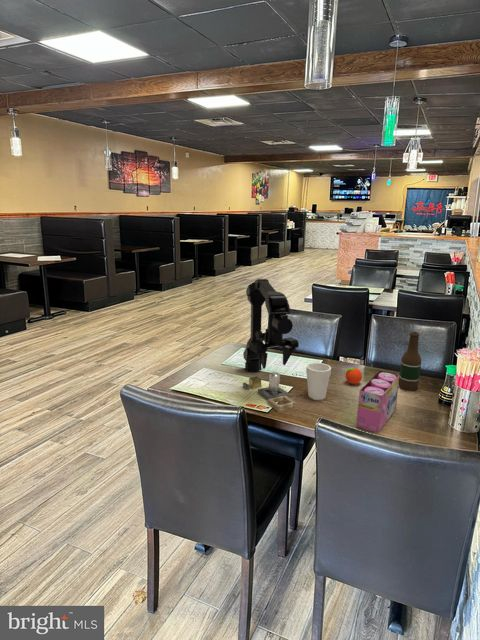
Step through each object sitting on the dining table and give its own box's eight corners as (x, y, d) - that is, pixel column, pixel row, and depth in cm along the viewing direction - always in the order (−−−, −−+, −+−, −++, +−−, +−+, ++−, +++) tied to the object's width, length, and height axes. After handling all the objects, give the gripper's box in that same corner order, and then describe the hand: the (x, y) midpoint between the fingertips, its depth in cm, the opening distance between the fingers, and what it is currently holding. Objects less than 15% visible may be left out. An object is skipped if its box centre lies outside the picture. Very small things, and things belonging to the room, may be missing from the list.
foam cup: (313, 405, 163) (316, 373, 159) (299, 395, 171) (301, 364, 167) (333, 400, 167) (336, 369, 164) (319, 391, 175) (321, 361, 172)
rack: (284, 401, 165) (285, 395, 165) (295, 409, 159) (295, 402, 159) (267, 405, 161) (267, 399, 161) (277, 413, 155) (277, 406, 155)
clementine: (346, 387, 180) (347, 371, 178) (339, 381, 186) (340, 365, 185) (364, 386, 181) (365, 370, 180) (356, 379, 188) (358, 364, 186)
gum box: (376, 402, 167) (379, 368, 163) (397, 407, 163) (401, 373, 159) (355, 426, 147) (358, 389, 144) (378, 433, 143) (382, 395, 140)
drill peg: (275, 392, 171) (276, 371, 168) (280, 397, 167) (281, 375, 165) (266, 394, 169) (267, 373, 167) (271, 398, 166) (272, 376, 163)
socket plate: (267, 382, 183) (267, 376, 182) (292, 399, 167) (292, 392, 167) (238, 388, 176) (238, 382, 175) (261, 406, 161) (262, 398, 160)
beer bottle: (418, 386, 182) (425, 331, 176) (417, 393, 175) (424, 336, 169) (399, 382, 185) (405, 329, 179) (397, 389, 179) (403, 333, 173)
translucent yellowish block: (257, 384, 178) (257, 376, 177) (261, 386, 176) (261, 378, 175) (248, 385, 176) (249, 377, 176) (252, 388, 174) (252, 380, 173)
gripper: (283, 320, 174) (282, 357, 177) (243, 325, 165) (242, 364, 168) (300, 326, 164) (298, 365, 168) (258, 331, 155) (257, 373, 159)
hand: (274, 366), depth 166 cm, fingers open, 9 cm apart
